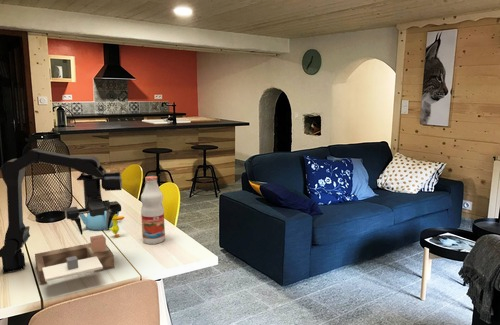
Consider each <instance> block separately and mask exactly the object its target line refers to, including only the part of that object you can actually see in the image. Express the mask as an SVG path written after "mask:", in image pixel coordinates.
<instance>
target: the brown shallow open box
mask: <svg viewBox="0 0 500 325" xmlns="http://www.w3.org/2000/svg"><path fill="white" fill-rule="evenodd" d="M73 256H76V257H77V259H78V260H81V259H86V258H91V257H95V256H97V258H98V259H99V261H100V263H101V264H102V266H103V269H99V270H95V271H93V273H97V272H102V271H105V270H106V271H107V270H111V269H114V268H115V266H116V265H115V254H114V253H113V251H112V250H111V249H110V248H109V246H108V245H107V244H106V250H102V251H98V252H93V251H92V249H91V242H90V243H86V244H85V243H84V244H81V245H74V246H68V247H64V248H58V249H55V250H53V249H52V250H49V251H43V252H38V253H34V258H35V259H34V260H35V268H36V272H37V276H38V281H39V285H40V286H41V285H47V284H48V281H47V282H46V281H45V278H44V274H43V270H42V268H44V267H48V266H53V265H58V264H63V263H67V261H66V258H69V257H73Z"/></svg>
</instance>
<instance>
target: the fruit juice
mask: <svg viewBox="0 0 500 325" xmlns="http://www.w3.org/2000/svg"><path fill="white" fill-rule="evenodd" d="M144 180H145V185H144V188H143V190H142V191H143V192H142V193H141V195H140V201H141V204H142V205H141V207H140V208H141V210H140V211H141V213H140V215H141V216H140V218H141V233H142V239H141V240H142V243H145V244H147V245H155V244H160V243H163V242H164V241H165V239H166V238H165V237H166V236H165V235H166V233H165V232H166V230H165V229H166V228H165V226H166V225H165V208H164V205H163V201H164V195H163V193H162V191H161V189H160V186H159V184H158V176H157V175H148V176H145V179H144Z"/></svg>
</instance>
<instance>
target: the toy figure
mask: <svg viewBox="0 0 500 325" xmlns="http://www.w3.org/2000/svg"><path fill="white" fill-rule="evenodd" d="M124 219H125V216H119V215H118V217H117V214H115V215H114V216H113V218H112V221H113V227H111V228H109V230H110V231H111V232H112V233H113V234H114V238H119V237H120V236H121V235H120V234H118V233H119V231H120V227H119V225H118V221H123V220H124Z"/></svg>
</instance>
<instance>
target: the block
mask: <svg viewBox="0 0 500 325" xmlns="http://www.w3.org/2000/svg"><path fill="white" fill-rule="evenodd" d="M89 239H90V240H89V241H90V243H91V249H92V251H93V252H98V251H102V250H106V245H107V241H106V240H107V239H106V237H105V236H104V234H99V235H92V236H90V238H89Z"/></svg>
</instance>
